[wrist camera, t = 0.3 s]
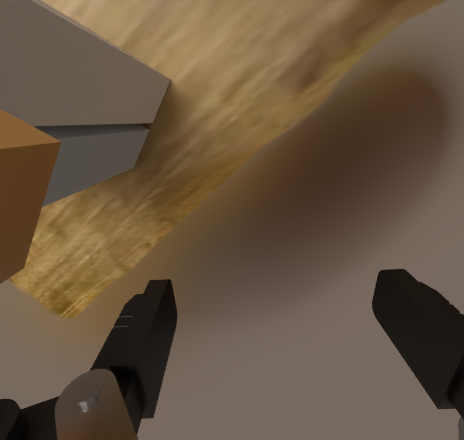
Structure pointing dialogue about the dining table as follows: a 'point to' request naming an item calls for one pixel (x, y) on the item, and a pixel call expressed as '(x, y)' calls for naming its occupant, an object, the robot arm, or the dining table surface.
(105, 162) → the grey box
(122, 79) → the tall pale grey pillar
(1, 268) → the bar
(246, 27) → the dining table surface
